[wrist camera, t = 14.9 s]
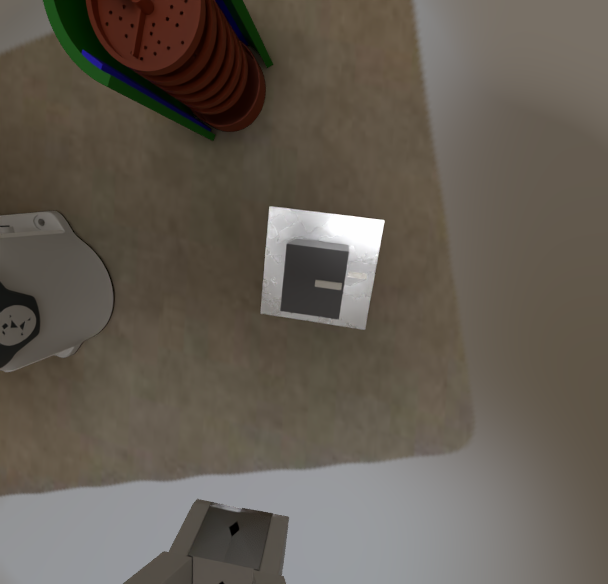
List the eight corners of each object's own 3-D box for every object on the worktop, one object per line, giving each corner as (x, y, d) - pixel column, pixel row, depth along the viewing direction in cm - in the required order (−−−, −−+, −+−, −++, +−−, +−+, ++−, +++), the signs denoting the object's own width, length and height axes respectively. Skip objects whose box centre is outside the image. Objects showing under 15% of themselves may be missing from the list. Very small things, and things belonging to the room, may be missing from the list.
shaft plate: (262, 310, 37) (251, 324, 33) (271, 206, 34) (260, 205, 30) (364, 326, 36) (366, 342, 32) (383, 220, 33) (389, 221, 29)
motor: (239, 157, 33) (93, 85, 14) (166, 112, 33) (-83, -22, 14) (285, 58, 30) (182, -200, 11) (205, 9, 30) (-38, -338, 11)
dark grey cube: (296, 238, 34) (285, 243, 28) (348, 244, 33) (349, 251, 27) (290, 295, 35) (279, 311, 30) (339, 302, 35) (338, 320, 29)
